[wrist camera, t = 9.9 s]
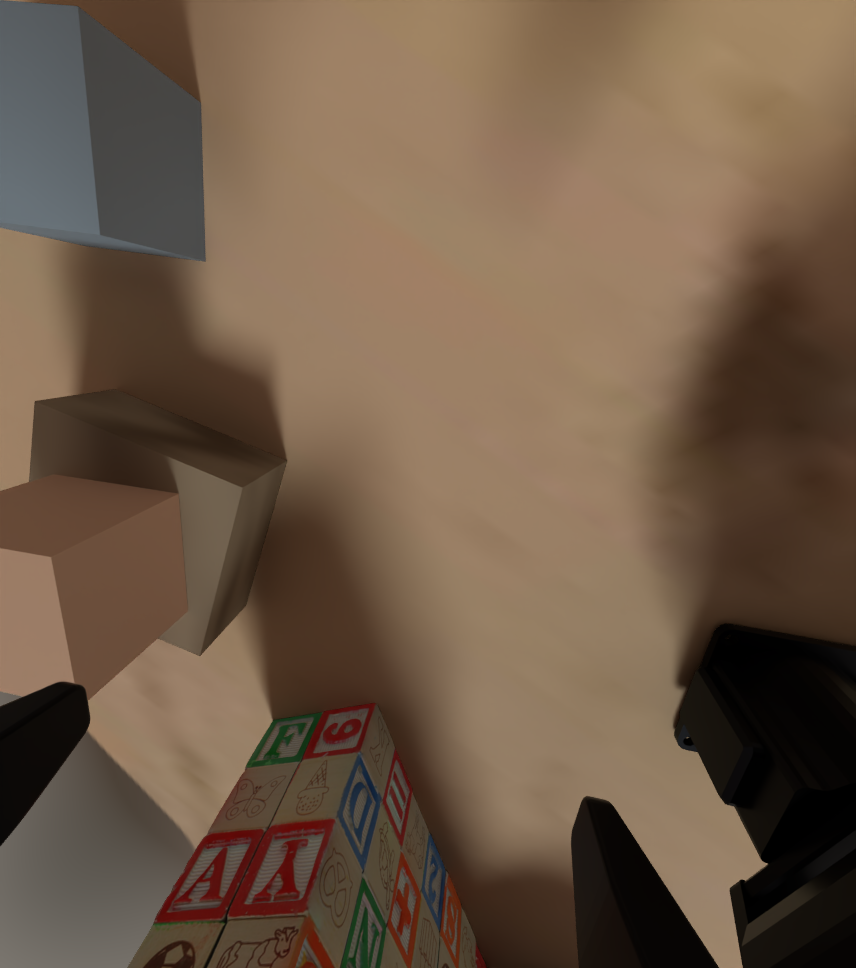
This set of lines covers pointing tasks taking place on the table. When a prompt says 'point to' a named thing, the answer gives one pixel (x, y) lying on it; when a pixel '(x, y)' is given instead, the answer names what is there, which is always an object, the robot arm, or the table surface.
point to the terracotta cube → (85, 580)
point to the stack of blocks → (316, 863)
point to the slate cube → (95, 138)
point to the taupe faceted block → (172, 491)
